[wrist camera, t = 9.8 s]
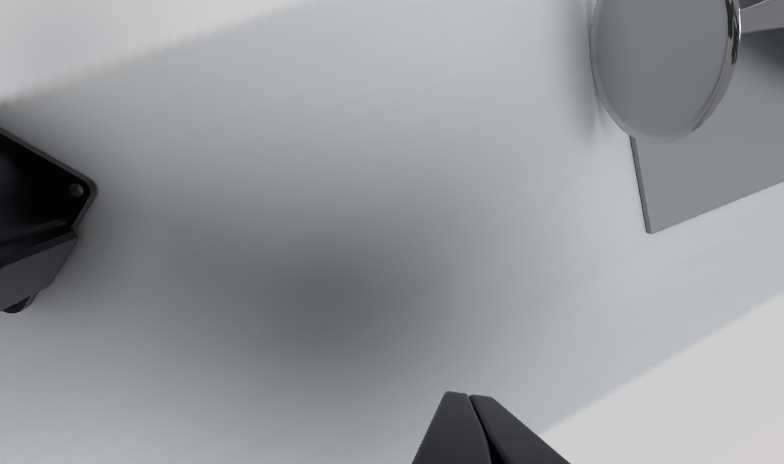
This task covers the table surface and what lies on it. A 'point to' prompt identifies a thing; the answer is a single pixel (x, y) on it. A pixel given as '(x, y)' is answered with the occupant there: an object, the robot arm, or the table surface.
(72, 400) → the table surface
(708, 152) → the placemat
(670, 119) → the wine glass
